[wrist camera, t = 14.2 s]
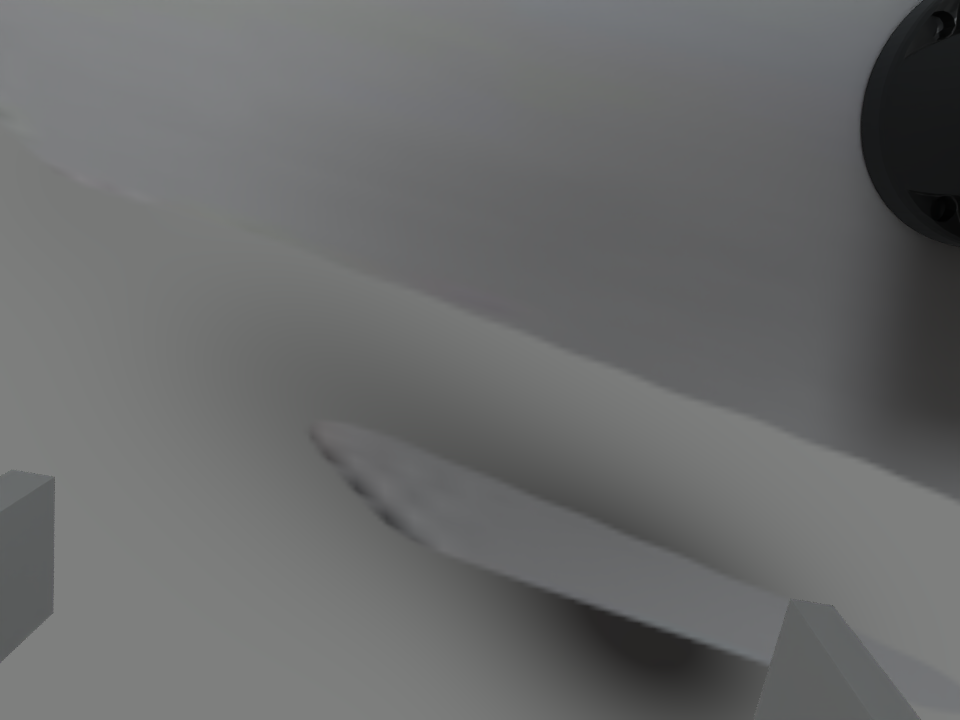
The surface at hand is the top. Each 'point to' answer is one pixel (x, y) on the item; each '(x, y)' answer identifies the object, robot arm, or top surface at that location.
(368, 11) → the top surface
